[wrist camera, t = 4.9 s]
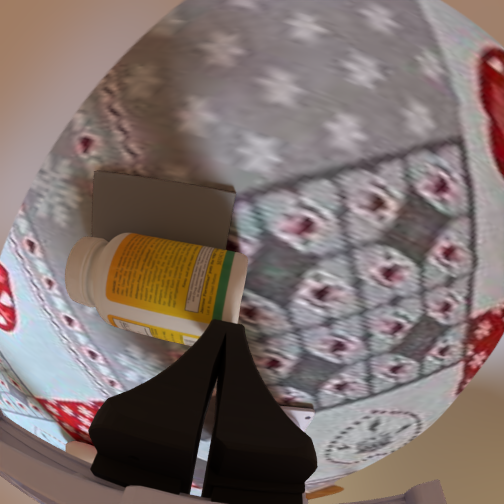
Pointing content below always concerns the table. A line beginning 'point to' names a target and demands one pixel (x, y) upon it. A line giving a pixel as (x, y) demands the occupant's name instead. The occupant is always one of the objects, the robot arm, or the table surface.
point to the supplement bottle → (156, 284)
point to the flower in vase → (81, 450)
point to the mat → (160, 209)
